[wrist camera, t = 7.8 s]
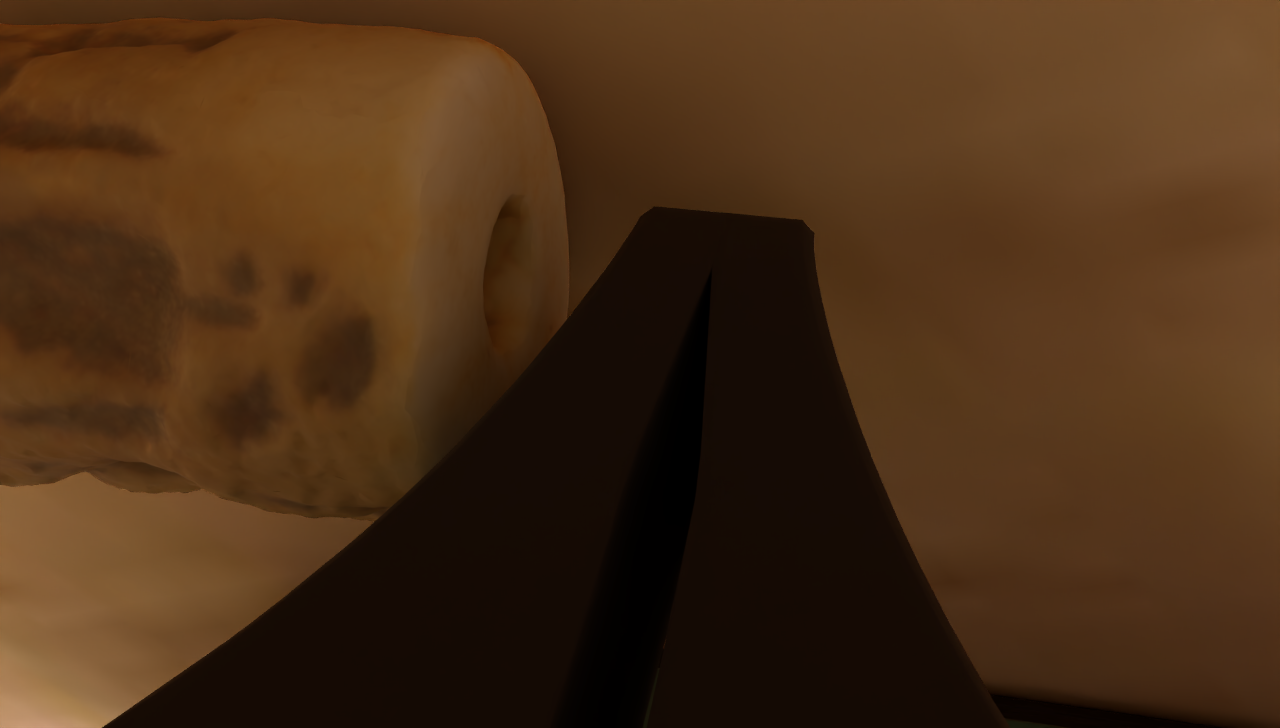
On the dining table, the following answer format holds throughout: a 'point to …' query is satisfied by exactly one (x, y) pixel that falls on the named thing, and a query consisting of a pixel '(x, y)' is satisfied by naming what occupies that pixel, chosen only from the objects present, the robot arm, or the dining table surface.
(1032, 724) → the toaster
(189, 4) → the dining table surface
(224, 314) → the tan cylinder with hole
